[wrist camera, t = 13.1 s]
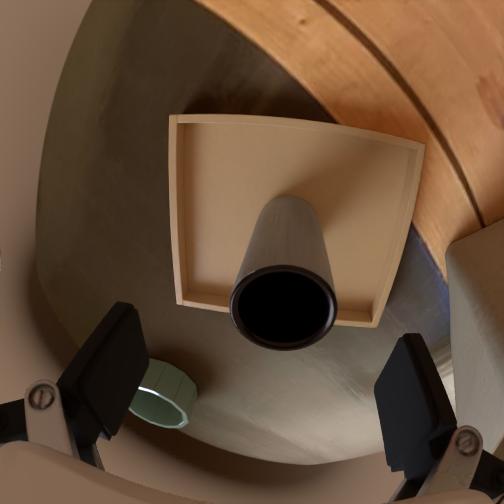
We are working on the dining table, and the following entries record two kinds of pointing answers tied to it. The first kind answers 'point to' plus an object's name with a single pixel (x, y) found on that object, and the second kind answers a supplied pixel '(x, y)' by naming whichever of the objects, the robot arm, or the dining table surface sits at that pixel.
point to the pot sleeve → (165, 396)
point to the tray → (289, 184)
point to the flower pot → (478, 332)
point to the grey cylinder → (285, 279)
